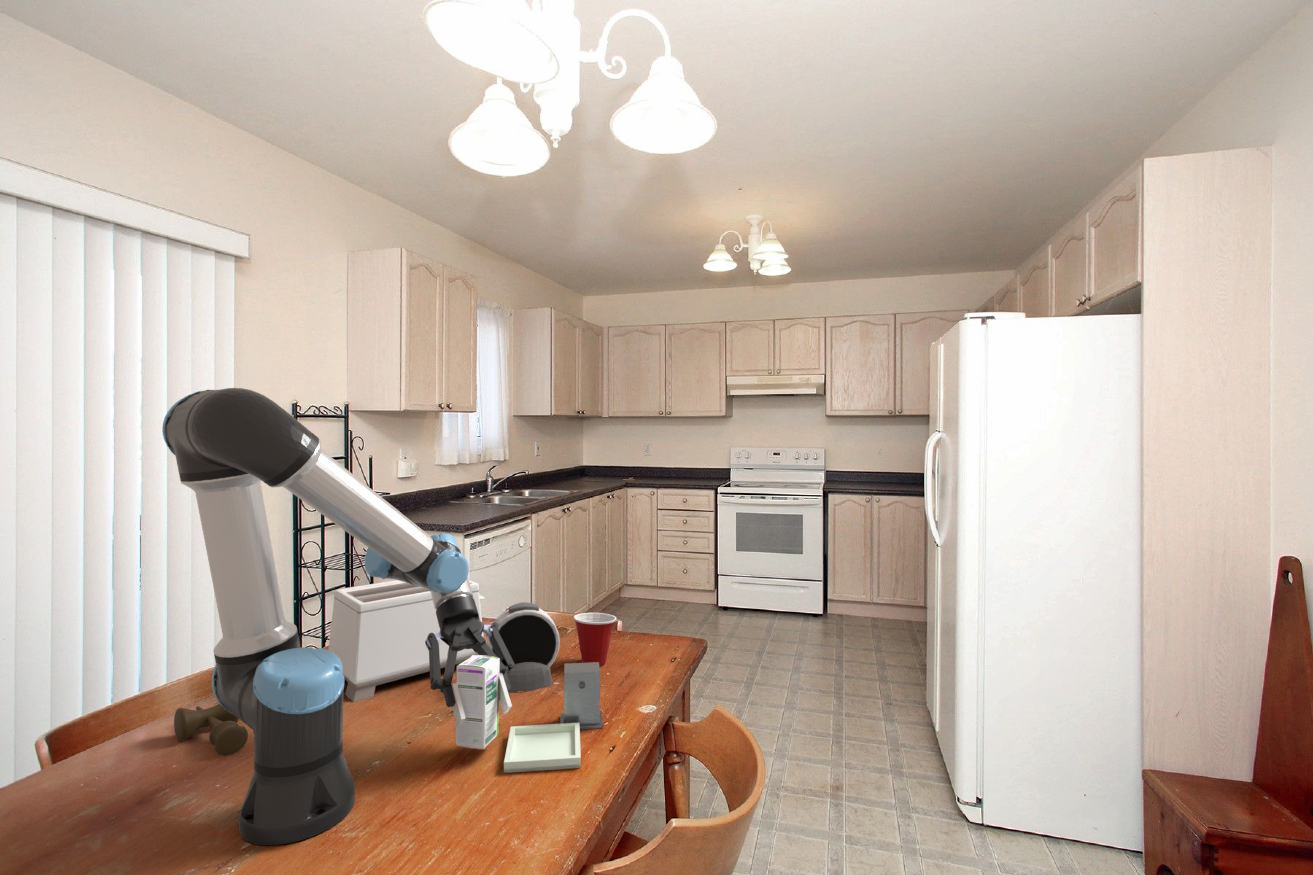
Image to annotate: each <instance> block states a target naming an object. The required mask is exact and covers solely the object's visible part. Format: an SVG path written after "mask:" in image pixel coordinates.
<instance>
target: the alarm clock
mask: <svg viewBox="0 0 1313 875" xmlns="http://www.w3.org/2000/svg"><path fill="white" fill-rule="evenodd" d="M493 622H496V623H497V624H498V629H499V634H500V636H501V638H502V640H503V642H504V644H505V646H506V648H507V650H508V652H509V654H510V656H511V658H512V660H513V662H514V664H515V665H514V667H513V668H512V670H511V671H510V673H507V676H508V679H509V682H510V686H511V689H510V691H509V692H508V693H519V692H518V691H523V692H530V691H536V690H537V691H538V690H540V688H541V689H544V688H548V687H551V686H553V681H552V680H553V679H552V672H551V666H552V665H553V664H554V663H555V661H556V658H557V657H558V654H559V652H560V645H561V644H560V643H561V641H560V640H561V639H560V632H559V631H558V629H557V628H558V627H557V626H556V624H555V622H554V620H553V618H551V616H550V615H549V614H548V612H546V611H545V610H543V609H541V608H540V607H539V605H538V604H536V603H533V602H526V601H525V602H519V603H515V604H513V605H510V606H508V609H507V610H505V611H503V612H502V613H501V614H499V616H497V617H496V619H495V620H494V621H493ZM486 638H487V640H486V644H487V645H488V646H489V647H490V649H491V650H492V651H493V652H494V653H495V651H494V649H493V647H492V645H491V643H490V640H489V637H486ZM495 655H496V653H495ZM496 656H497V655H496Z"/></svg>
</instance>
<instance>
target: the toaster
mask: <svg viewBox="0 0 1313 875" xmlns="http://www.w3.org/2000/svg"><path fill="white" fill-rule="evenodd" d="M468 580H469V583H470V587H471V590H472V593H473V599H474V600H475V604H476V607H477V610H478V614H479V619H480V621H481V622H482V623H483V618H482V608H481V607H482V606H481V600H484V599H485V596H483V595H481V594H480V585H479V583H478V582H475V581H473V580H470V579H468ZM333 597H334V598H333V607H332V615H331V616H332V617H331V624H330V633H329V635H330V636H329V642H328V648H327V650H328V651H331V652H333V653H334V654H336V655H337V656H338V657H339V658H340V660H341V662H342V668H343V675H344V681H346V682H347V686H346V690H345V697H347V698H348V700H350V699H351V700H350V701H351V702H352V701H353V702H352V703H355V702H354V701H356V702H359V701H364V700H367V699H370V698H373V697H374V695H375V692H376V687H377V686H379V685H384V684H386V683H391V682H395V681H398V680H403V679H405V678H409V677H413V676H416V675H417V676H418V675H420V674H425V673H428V672H429V673H430V665H429V650H428V648H427V646H426V644H425V641H426V639H427V637H428V635H429V633H434V634H436V633H439V632H440V627H439V624H438V620H437V616H436V610H435V607H434V603H433V599H432V595H431V592H430V590H429V589H426V588H423V587H420V586H417V585H412V584H409V583H406V582H402V581H399V580H395V579H394V580H389V581H382V582H378V583H371V584H364V585H358V586H357V585H356V586H351V587H345V588H344V587H343V588H338V589H335V590H334V595H333ZM481 635H482V636H483V638H484V639H485V637H484V632H482V634H481ZM477 644H478V643H477ZM448 650H449V646H448V645H447V644H446V643H445V642H443V641H442V640H441V639H440V643H439V655H440V669H443V668H444V669H445V667H446V662H447V657H448V656H447V655H448ZM472 655H479V654H478V653H476V652H474V650H473V649H463V650H461V651H458V652H457V657H456V662H455V665H459V664H461V663H462V662H464V661H465V660H467V659H469V658H470V657H471V656H472ZM363 699H364V700H363Z"/></svg>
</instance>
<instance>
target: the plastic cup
mask: <svg viewBox="0 0 1313 875" xmlns="http://www.w3.org/2000/svg"><path fill="white" fill-rule="evenodd" d="M573 620H574V622H575V626H576V630H577V631H576V632H577V637H578V643H579V646H578V647H579V651H580V656H581V663H592V662H599V667H600V668H601V667H603V666H605V665H606V662H607V657H608V652H609V649H610V648H609V647H610V643H611V635H612V631H613V628H614V624H615V623H616V621H617V617H616V616H615V615H613V614H609V613H604V612H584V613H578V614H575V615H574V616H573Z"/></svg>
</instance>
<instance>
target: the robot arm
mask: <svg viewBox="0 0 1313 875" xmlns="http://www.w3.org/2000/svg"><path fill="white" fill-rule="evenodd" d="M161 429H162V436H163V440H164V442H165V444H166V447H167V448H168V449H169V451H170V452H171V453H172V454H173V455H174V456H175V461H176V467H177V470H178V475H179V481H180V484H182V485H184V486H185V487H187V488H189V489H191V490H192V491H193V492H194V493H195V498H196V502H197V508H198V509H197V510H198V515H199V519H200V523H201V528H202V535H203V538H204V546H205V550H206V556H207V560H208V567H209V571H210V576H211V581H212V586H213V587H212V588H213V592H214V597H215V601H216V606H217V607H216V608H217V613H218V618H219V623H220V629H221V633H222V634H221V635H222V638H220V640H219V641H218V642H217V643H216V645H215V646H214V648H213V655H214V656H213V657H214V661H215V666H214V668H213V671H212V675H211V687H212V692H213V695H214V696H215V698H216V700H217V702H218V704H220V705H221V706H222V707H223V708H224V709H225V710H227V711H228V712H230V713H231V714H233V715H235V716H236V717H237V718H238V719H239V721H241V722H242V723H244V724H245V725H246V726H248V727H249V728H250V729H251V730H253V731H252V732H253V761H254V762H253V765H254V766H253V773H252V776H251V778H250V779H251V780H250V783H249V785H248V788H247V791H246V793H245V797H244V800H243V803H242V804H241V805H242V806H241V807H240V811H239V816H238V817H239V819H238V820H239V825H238V826H239V829H238V830H239V835H240V836H241V837H242V839H243V840H245V841H247V842H249V843H251V844H255V845H260V846H278V845H279V846H280V845H284V844H285V845H286V844H291V843H296V842H298V841H303V840H306V839H308V838H311V837H315V836H317V835H319V834H322V833H323V832H326V831H327V830H328V829H330V828H333V827H334V826H336V825H337V824H338V823H340V821H343V819H345V818H346V817H347V815H348V814H350V812H351V811H352V809H353V807H354V806H355V802H356V800H355V799H356V794H355V793H356V791H355V790H356V786H355V782H354V779H353V776H352V773H351V771H350V768H349V766H348V763H347V761H346V758H345V755H344V752H343V751H344V750H343V747H344V746H343V745H344V744H343V740H344V739H343V738H344V736H343V732H344V730H343V729H344V688H345V680H344V675H343V668H342V662H341V660H340V658H339V657H338V656H337V655H336V654H334V653H333V652H331V651H328V649H324V648H319V647H318V648H313V647H311V646H310V647H306V646H305V647H301V642H300V639H299V632H298V628H297V625H296V624H294V623H292V622H291V621H287V620H286V619H285V614H284V609H283V602H282V596H281V592H280V591H281V590H280V586H279V580H278V575H277V569H276V563H275V557H274V552H273V546H272V540H271V535H270V530H269V523H268V519H267V513H266V506H265V500H264V496H263V489H262V485H261V484H262V483H261V482H263V483H264V484H265V485H267V486H269V487H271V488H280V487H281V488H282V487H283V488H284V489H286V490H287V491H288V492H290V493H291V494H293V496H295V497H296V498H298V499H300V500H301V501H303V502H304V503H305V504H306V505H308V506H310V508H312V509H314V510H315V511H317V512H318V513H320V514H321V515H322V516H324V517H325V518H327V519H328V520H329V521H331V522H332V523H333V524H335V525H336V526H338V527H340V528H341V529H342V530H343V531H345V532H346V533H347V534H349V535H350V536H352V538H353V537H354V538H355V539H356V540H357V541H359V542H360V543H362V544H363V545H365V546H366V547H367V550H366V553H365V556H364V567H365V568H364V569H365V571H366V573H367V574H368V575H369V576H370V577H373V578H380V579H382V580H385V579H390V580H394V581H395V580H399V581H402V582H406V583H409V584H412V585H417V586H420V587H423V588H426V589H429V590H430V592H431V595H432V599H433V603H434V607H435V610H436V616H437V620H438V624H439V627H440V632H439V633H436V634H434V633H429V635H428V637H427V639H426V641H425V644H426V646H427V648H428V650H429V665H430V671H429V683H430V684H429V685H430V686H429V687H430V689H431V690H433V691H435V690H439V691H440V692H441V693H442V694H443V696H444V700H445V705H446V707H447V708H451V707H452V710H453V711H452V712H453V715H454V719H455V725H456V724H457V726H461V725H462V724H463V722H464V720H465V719H466V718H465V714H464V710H463V706H462V702H461V698H460V694H459V690H458V686H457V683H456V682H454V683H453V677H454V672H455V666H456V664H455V662H456V657H457V652H458V651H461V650H463V649H473V650H474V652H476V653H478V654H479V655H486V656H493V657H498V658H499V659H500V669H499V705H500V707H501V711H502V713H503V715H505V714H508V712H509V711H510V710H511V708H513V705H512V702H511V698H510V694H509V693H510V692H509V691H510V689H511V686H510V682H509V679H508V676H507V673H510V671H511V670H512V668H513V667H514V665H515V664H514V662H513V660H512V658H511V656H510V654H509V652H508V650H507V648H506V646H505V644H504V642H503V640H502V638H501V636H500V634H499V629H498V624H497V623H496V622H494V621H493V622H492V624H484V623H483V621H482V622H481V621H480V619H479V614H478V610H477V607H476V604H475V600H474V599H473V593H472V590H471V587H470V583H469V580H470V579H469V578H468V576H469V571H470V566H469V565H470V564H469V562H468V560H467V558H466V556H465V555H464V554H463V553H462V550H461V549H460V547H459V544H458V541H457V539H456V537H454V536H453V535H451V534H449V533H443V532H441V533H439V534H437V533H435V534H432V535H430V534H428V532H426V531H425V530H423V529H422V528H420V527H419V526H418V525H417V524H416V523H414V522H413V521H412V520H411V519H409V518H408V517H407V516H406V515H404V514H403V513H402V512H400V510H399V509H397V508H396V507H395V506H393V505H392V504H391V503H389V502H388V501H387V500H386V499H385V498H384V497H382V496H381V495H379V494H378V493H377V492H375V491H374V490H373V489H372V488H370V487H369V486H368V485H367V484H366V483H365V482H364V481H362V480H360V478H358V477H357V476H355V475H354V474H353V473H352V472H351V471H350V470H348V469H347V468H346V467H344V466H343V465H342V464H341V463H339V462H338V461H337V460H336V459H334V458H333V457H332V456H331V455H329V453H327V452H326V451H324V450H323V449H322V446H321V444H322V443H321V439H320V438H319V437H318V436H317V435H316V434H314V433H313V431H311V430H309V429H308V428H307V427H306V426H305V425H303V424H302V423H301V422H300V421H299V420H298V419H296V418H295V417H294V416H293V415H292V414H290V413H289V412H288V411H286V410H285V409H284V408H282V407H281V405H279V404H277V403H276V401H274V400H272V399H271V398H269V397H267V396H265V395H264V394H261V393H260V392H257V391H256V390H252V389H247V388H244V387H243V388H241V387H229V388H227V387H226V388H222V389H205V390H200V391H195V392H193V393H190V394H188V395H186V396H184V397H183V398H181V399H179V400H178V401H176V402H175V403H174V404H173V405H172V406H171V407H170V408H169V410H167V412H166V414H165V416H164V418H163V423H162V428H161ZM482 632H483V633H485V636H486V638H488V637H489V640H490V643H491V645H492V647H493V649H494V651H495V653H496V655H497V656H496V655H495V653H494V652H493V651H492V650H491V649H490V647H489V646H488V645H487V640H486V639H485V637H484V638H483V636H482V635H481V634H482ZM440 639H441V640H442V641H443V642H445V643H446V644H447V645H448V646H449V650H448V655H447V656H448V657H447V662H446V667H444V674H443V677H441V668H440V655H439V643H440ZM477 643H478V644H477Z"/></svg>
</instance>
